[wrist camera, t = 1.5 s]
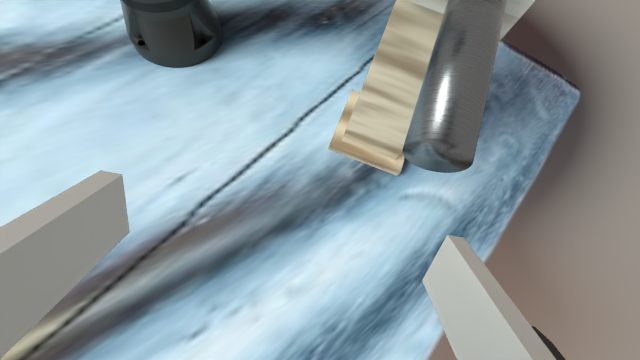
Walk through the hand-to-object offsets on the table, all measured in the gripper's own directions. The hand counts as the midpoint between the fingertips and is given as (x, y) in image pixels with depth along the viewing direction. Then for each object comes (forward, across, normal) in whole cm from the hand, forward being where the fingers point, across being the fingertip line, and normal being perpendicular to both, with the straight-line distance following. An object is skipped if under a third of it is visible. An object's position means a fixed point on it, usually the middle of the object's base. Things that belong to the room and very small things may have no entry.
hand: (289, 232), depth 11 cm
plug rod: (+13, +9, +11) cm, 20 cm away
